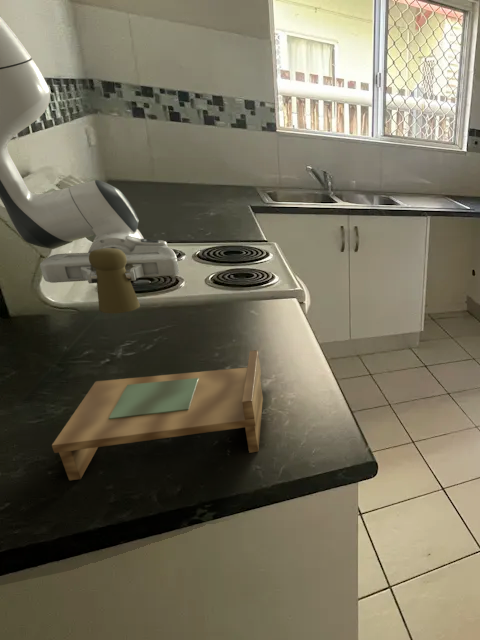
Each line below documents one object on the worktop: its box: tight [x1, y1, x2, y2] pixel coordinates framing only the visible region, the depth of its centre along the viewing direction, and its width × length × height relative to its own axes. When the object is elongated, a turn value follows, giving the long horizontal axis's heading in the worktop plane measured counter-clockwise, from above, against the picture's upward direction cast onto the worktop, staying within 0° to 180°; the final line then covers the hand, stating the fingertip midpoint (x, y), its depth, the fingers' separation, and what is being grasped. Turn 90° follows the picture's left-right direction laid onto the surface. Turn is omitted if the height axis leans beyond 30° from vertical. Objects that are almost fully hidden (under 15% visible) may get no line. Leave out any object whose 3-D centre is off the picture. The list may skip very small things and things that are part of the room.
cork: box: [89, 248, 141, 314], centre depth 86 cm, size 6×6×11 cm
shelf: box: [51, 349, 264, 481], centre depth 69 cm, size 22×16×9 cm
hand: (111, 277), depth 85 cm, fingers closed on cork, 4 cm apart
